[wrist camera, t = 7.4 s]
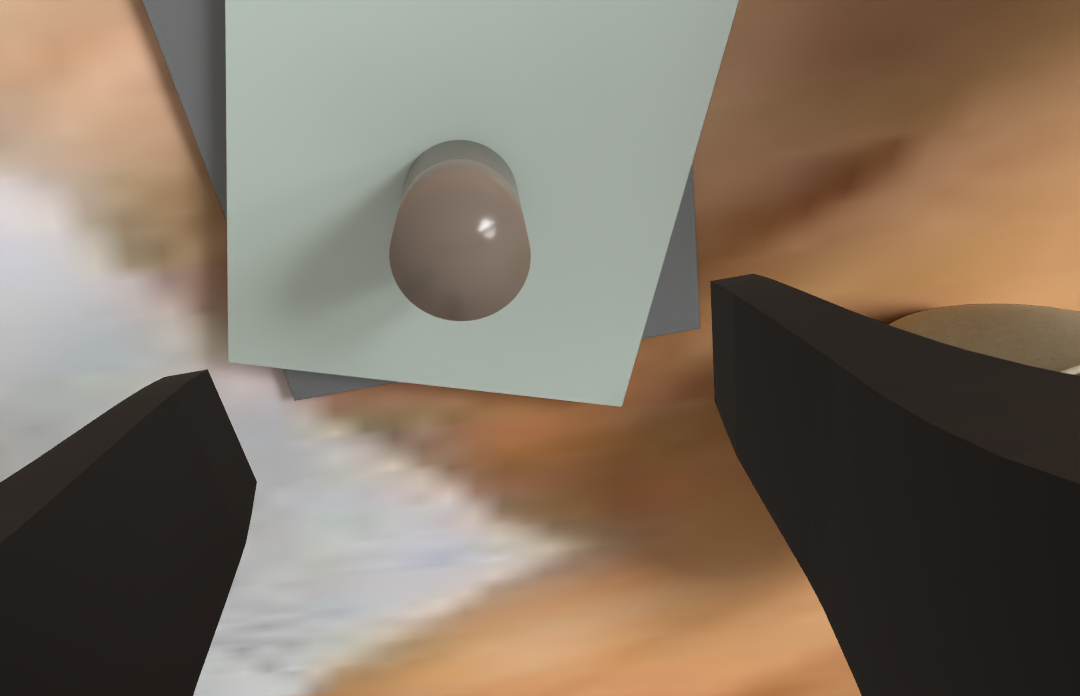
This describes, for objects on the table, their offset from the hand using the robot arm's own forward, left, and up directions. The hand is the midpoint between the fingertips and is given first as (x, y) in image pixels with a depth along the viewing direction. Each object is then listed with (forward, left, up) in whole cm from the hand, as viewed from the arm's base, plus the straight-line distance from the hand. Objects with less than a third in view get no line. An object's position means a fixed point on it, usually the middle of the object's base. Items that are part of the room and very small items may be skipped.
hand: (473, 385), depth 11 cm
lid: (0, 0, -10) cm, 10 cm away
